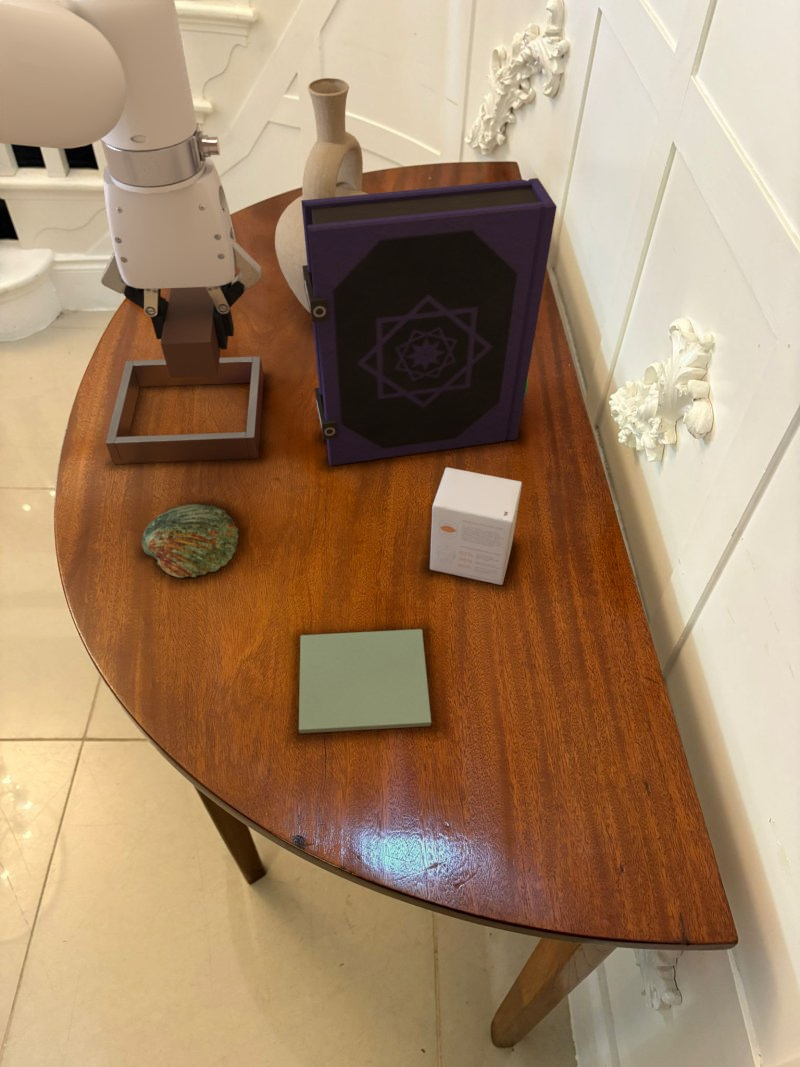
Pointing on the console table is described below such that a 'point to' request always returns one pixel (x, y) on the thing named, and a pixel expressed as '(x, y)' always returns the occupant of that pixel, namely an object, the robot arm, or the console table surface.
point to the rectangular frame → (184, 444)
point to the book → (424, 314)
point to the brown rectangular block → (190, 334)
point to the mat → (363, 681)
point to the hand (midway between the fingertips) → (197, 340)
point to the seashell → (191, 540)
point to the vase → (320, 177)
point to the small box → (473, 525)
